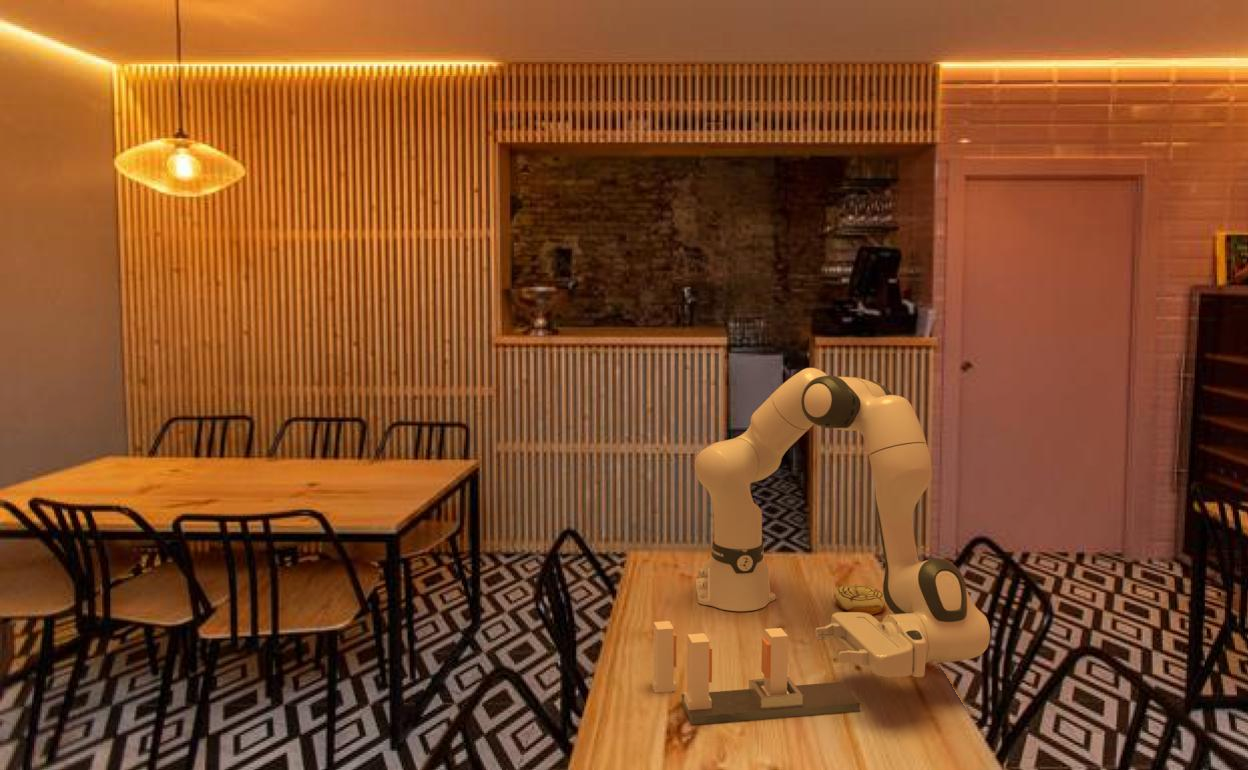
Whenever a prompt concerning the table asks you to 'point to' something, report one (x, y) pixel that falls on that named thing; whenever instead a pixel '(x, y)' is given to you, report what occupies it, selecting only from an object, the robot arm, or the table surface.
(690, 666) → the post
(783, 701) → the rail
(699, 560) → the table surface
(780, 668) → the beige tall square block
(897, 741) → the table surface
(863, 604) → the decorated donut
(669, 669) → the white orange block
